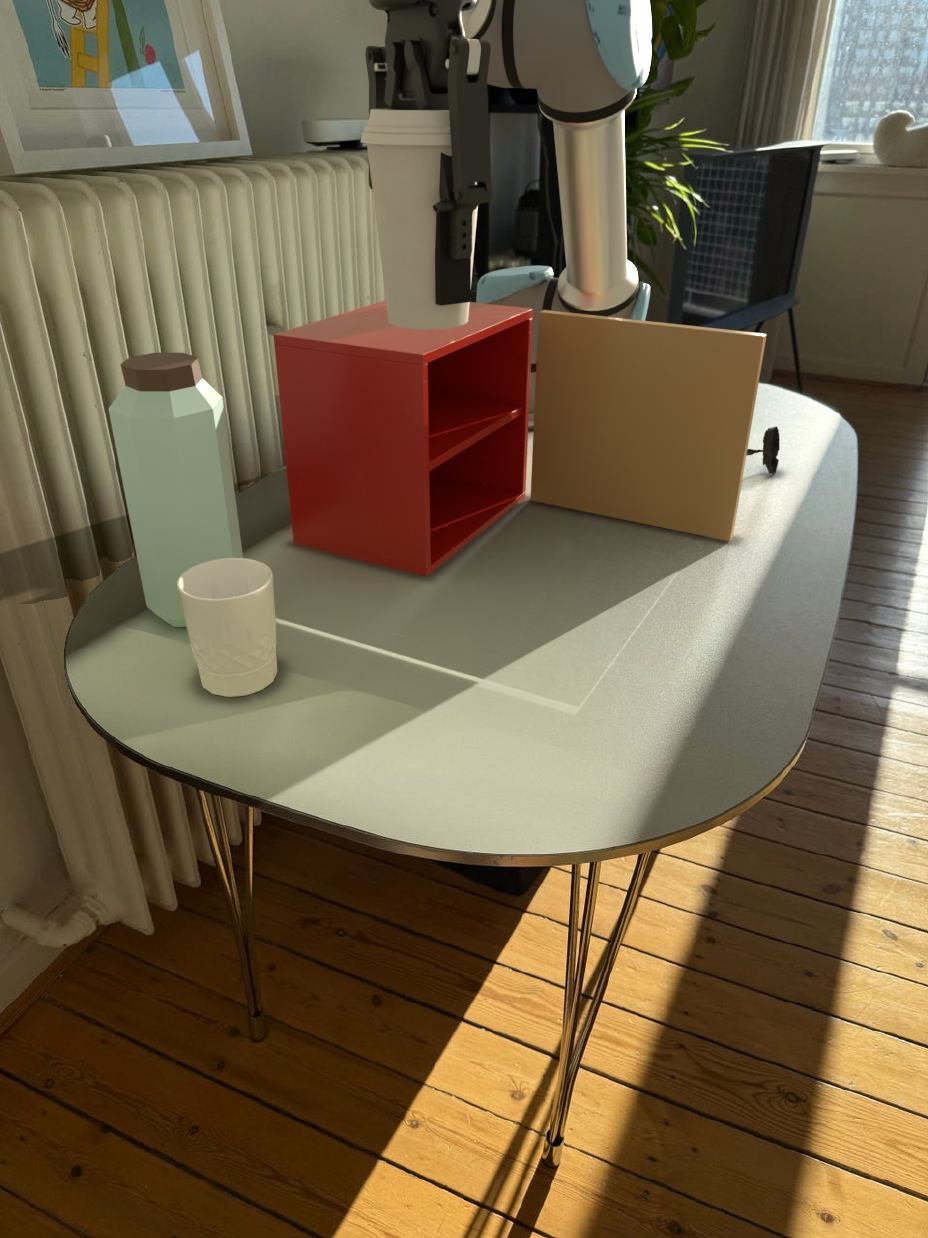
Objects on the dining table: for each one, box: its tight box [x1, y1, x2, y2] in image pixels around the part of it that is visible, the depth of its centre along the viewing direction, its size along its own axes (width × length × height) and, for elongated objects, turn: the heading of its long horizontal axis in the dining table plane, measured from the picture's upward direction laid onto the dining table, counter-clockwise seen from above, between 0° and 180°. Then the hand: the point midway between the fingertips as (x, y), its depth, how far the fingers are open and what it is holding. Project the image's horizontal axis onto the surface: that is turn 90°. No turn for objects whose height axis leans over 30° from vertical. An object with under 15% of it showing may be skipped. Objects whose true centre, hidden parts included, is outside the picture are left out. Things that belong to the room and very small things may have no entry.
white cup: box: [177, 557, 278, 698], centre depth 78 cm, size 8×8×10 cm
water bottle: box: [108, 352, 244, 628], centre depth 86 cm, size 10×10×25 cm
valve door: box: [529, 310, 768, 542], centre depth 109 cm, size 8×26×24 cm, turn 61°
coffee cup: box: [360, 109, 479, 330], centre depth 69 cm, size 10×10×15 cm
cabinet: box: [272, 299, 533, 578], centre depth 106 cm, size 18×26×24 cm
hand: (427, 294), depth 72 cm, fingers closed on coffee cup, 7 cm apart
